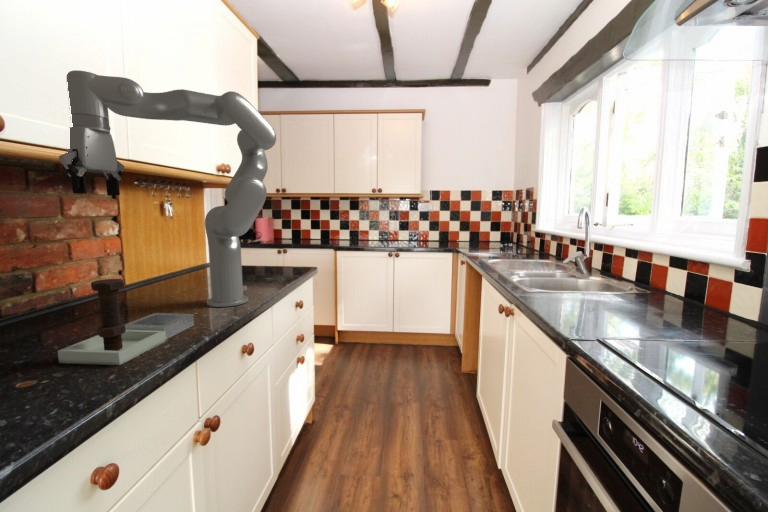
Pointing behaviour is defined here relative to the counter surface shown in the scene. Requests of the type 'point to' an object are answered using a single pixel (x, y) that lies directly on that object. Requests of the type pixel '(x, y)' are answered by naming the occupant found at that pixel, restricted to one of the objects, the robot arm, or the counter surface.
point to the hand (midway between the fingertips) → (97, 194)
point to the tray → (96, 354)
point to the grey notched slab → (163, 323)
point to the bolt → (110, 312)
